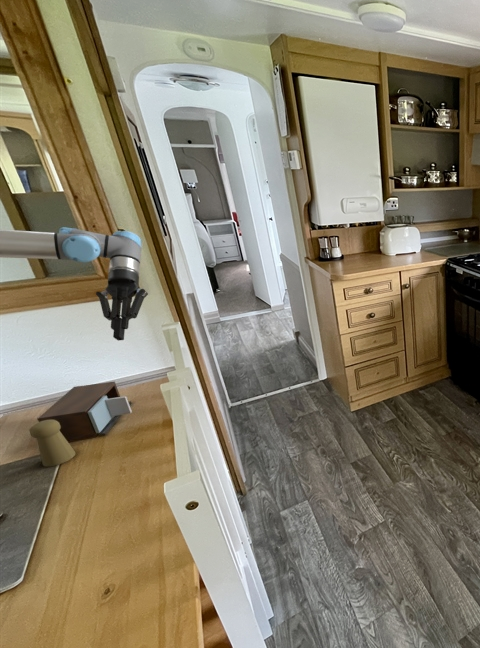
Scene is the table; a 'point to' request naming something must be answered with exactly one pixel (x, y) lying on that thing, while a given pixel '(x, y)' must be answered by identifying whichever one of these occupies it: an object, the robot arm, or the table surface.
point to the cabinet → (80, 410)
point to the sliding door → (107, 411)
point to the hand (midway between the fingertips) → (118, 338)
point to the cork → (51, 443)
